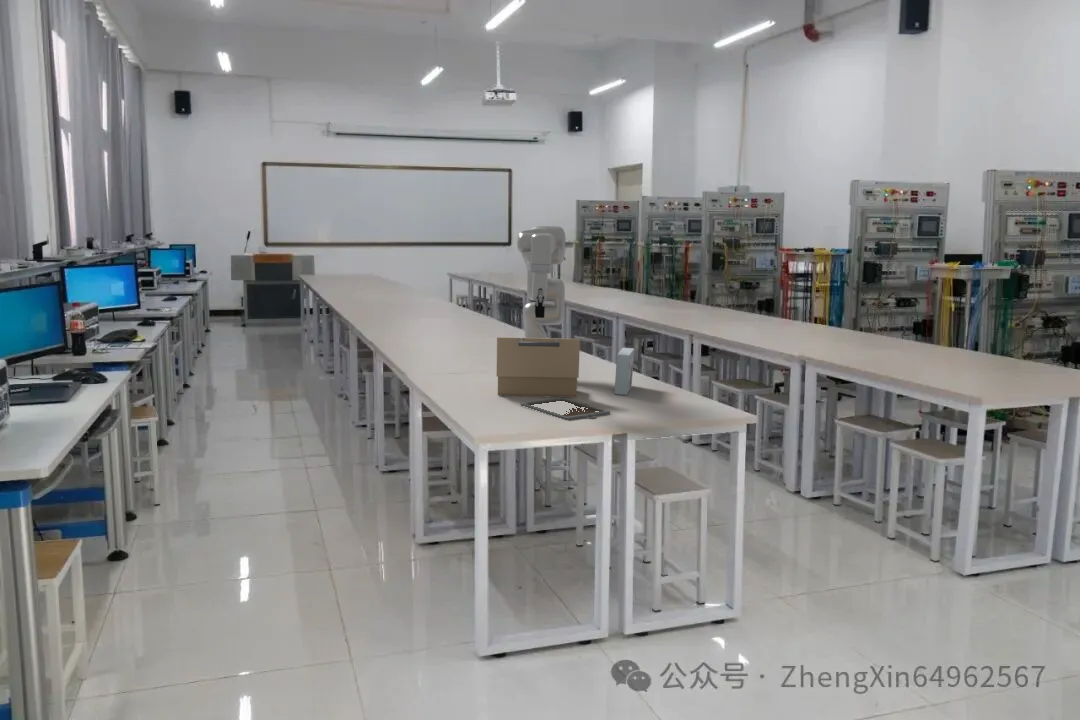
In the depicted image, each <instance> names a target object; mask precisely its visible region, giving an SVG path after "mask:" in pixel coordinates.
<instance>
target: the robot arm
mask: <svg viewBox="0 0 1080 720" xmlns="http://www.w3.org/2000/svg"><path fill="white" fill-rule="evenodd" d="M516 239H517V242H516V245H517V247H516V248H517V250H518V251H519V253H520V254H521V257H522V259H523V261H524V263H525V265H526V269H527V273H526V275H527V276H526V292H527V293H526V294H527V298H528V299H529V300H532V301H533V302H527V303H526V304H525V305H524V307H523V309H522V310H523V311H522V315H523V323H524V324H523V325H524V338H548V336H547V332H546V331H545V329H544V328H543V327H542V326H544V325H545V326H546V325H548V326H552V325H554V326H559V325H561V324H563V322H564V319H565V299H566V298H565V297H566V295H565V293H566V292H565V289H566V288H565V284H564V281H563V280H562V279H560V278H549V277H548V276H549V275H548V274H551V273H552V265H554V266H557V265H561V264H562V263H563V262H564V260H565V254H566V253H565V252H566V240H567V239H566V233H565V230H564V228H562V227H561V226H558V225H555V226H554V225H552V226H551V225H537V226H534V227H532V228H531V229H528V230H522V231H520V232H519V233H518V236H517V238H516Z"/></svg>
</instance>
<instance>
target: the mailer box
mask: <svg viewBox="0 0 1080 720" xmlns="http://www.w3.org/2000/svg"><path fill="white" fill-rule="evenodd" d="M577 391H578V378H556V377H499V376H497V396H498V395H507V396H506V397H534V396H564V397H563V398H577V395H578V393H577Z"/></svg>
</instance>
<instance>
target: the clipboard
mask: <svg viewBox="0 0 1080 720" xmlns="http://www.w3.org/2000/svg"><path fill="white" fill-rule="evenodd" d="M556 401H565V402H568V403H571V404H574V405H575V406H578V407H580V408H581V407H585V408H584V410H585V412H584V410H583V411H582V409H580V408H577V407H576V408H577V411H576V409H574V408H572V410H573V412H572V410H570V409H569V410H570V413H569V412H568V413H569V414H567V413H566V414H567V415H566V414H564V415H560V414H557V413H554V412H550V411H547V410H544V409H541V408H538V407H534V406H531V405H534V404H542V403H549V402H556ZM520 406H521V407H523V406H525V407H524V408H526V407H528V408H527V409H529V408H531V409H530V410H532V409H534V410H533V411H535V410H537V411H536V412H538V411H540V412H539V413H542V412H543V413H542V414H545V413H546V414H545V415H548V414H549V415H548V416H551V415H552V416H551V417H554V416H555V417H554V418H557V417H558V418H557V419H560V418H561V420H564V421H567V420H569V421H575V420H581V419H583V420H584V419H587V420H595V419H597V417H600V416H601V415H602V416H607V414H609V415H611V411H610V410H607V409H603V408H599V407H597V406H593V405H589V404H587V403H582V402H579V401H575V400H572V399H568V398H566V397H555V398H549V399H542V400H536V401H528V402H527V401H526V402H520ZM586 408H588V409H586ZM578 411H579V412H578ZM595 411H599V412H595ZM566 412H567V411H566Z"/></svg>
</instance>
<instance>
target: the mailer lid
mask: <svg viewBox="0 0 1080 720" xmlns="http://www.w3.org/2000/svg"><path fill="white" fill-rule="evenodd" d="M580 344H581V338H567V337H566V338H563V337H562V338H561V337H560V338H559V337H552V338H551V337H547V338H525V337H515V336H514V337H511V336H510V337H507V336H506V337H504V336H502V337H501V336H498V337H496V377H498V376H499V377H556V378H577V379H579V376H580V374H579V373H580V372H579V371H580V349H581V347H580V346H581V345H580Z"/></svg>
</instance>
